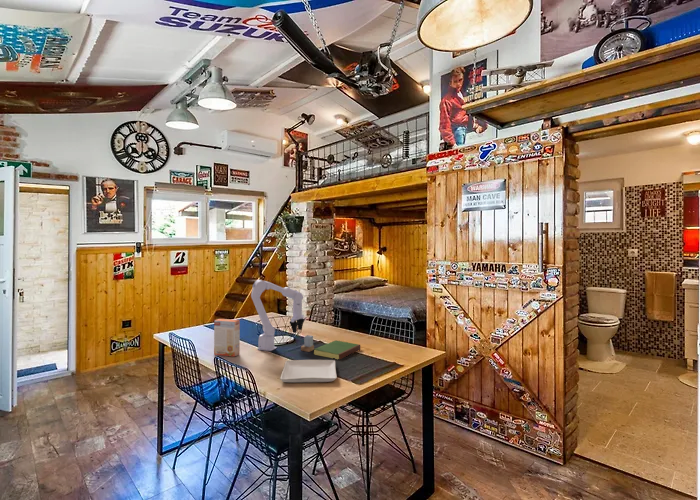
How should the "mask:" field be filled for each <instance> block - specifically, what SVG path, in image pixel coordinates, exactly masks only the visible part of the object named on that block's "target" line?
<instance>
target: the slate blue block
mask: <svg viewBox="0 0 700 500" xmlns="http://www.w3.org/2000/svg"><path fill="white" fill-rule="evenodd" d="M303 341H304V342H303V343H304V344H303V345H304V346H306V347H311V346H313V345H314V335H309V334H308V335H305V336H304V337H303Z"/></svg>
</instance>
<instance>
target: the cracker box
mask: <svg viewBox="0 0 700 500" xmlns="http://www.w3.org/2000/svg"><path fill="white" fill-rule="evenodd" d="M240 321H241V320H239V319H229V318H228V319H227V318H216V319H214V323H213V326H214V327H213V334H214V335H213V352H214V353H213V355H215V356H224V357H234V358H235V357H236V356H238V355H240V350H241V349H240V342H241V341H240V337H241V335H240V334H241V333H240V329H241V327H240V326H241V325H240Z"/></svg>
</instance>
